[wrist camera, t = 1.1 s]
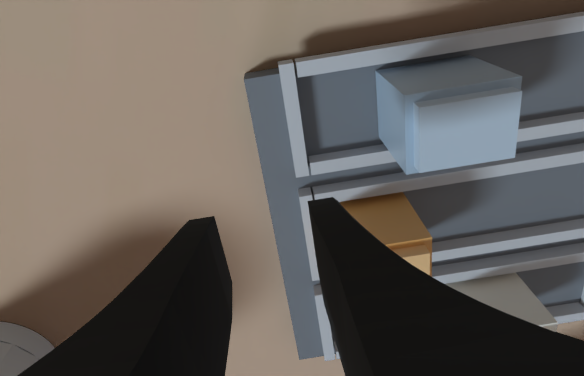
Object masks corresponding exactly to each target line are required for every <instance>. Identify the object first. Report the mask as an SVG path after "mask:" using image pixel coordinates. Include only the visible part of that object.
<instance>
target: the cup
mask: <svg viewBox="0 0 584 376" xmlns="http://www.w3.org/2000/svg"><path fill="white" fill-rule="evenodd" d="M53 349H55V348H54V346H53V345H52V344H51V343H50V342H49V341H48V340H47V339H45V338H44V337H43V336H41V335H40V334H38V333H36V332H34V331H32V330H30V329H28V328H26V327H23V326H20V325H16V324H12V323H7V322H0V376H17V375H19V374H20V373H22V372H23V371H24V370H26V369H27V368H28V367H30V366H31V365H33V364H34V363H35V362H37V361H38V360H39V359H41V358H42V357H44V356H45V355H46V354H48V353H49V352H50V351H52V350H53Z"/></svg>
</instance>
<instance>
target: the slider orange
mask: <svg viewBox="0 0 584 376" xmlns="http://www.w3.org/2000/svg"><path fill="white" fill-rule="evenodd" d="M339 203H340V204H341V205H342V206H343V207H344V208H345V209H346V210H347V211H348V212H349V213H350V214H351V215H352V216H353V217H354V218H355V219H356V220H357V221H358V222H359V223H360V224H361V225H362V226H363V227H364V228H365V229H367V230H368V231H369V232H370V233H371V234H372V235H374V236H375V237H376V238H377V239H378V240H379V241H381V242H382V243H383V244H384V245H386V246H387V247H388V248H389V249H391V250H392V251H393V252H395V253H396V254H398V255H399V256H400V257H402V258H403V259H404V260H406V261H407V262H409V263H410V264H412V265H413V266H415V267H416V268H418V269H420V270H421V271H423V272H425V273H426V274H428V275H430V276H431V277H432V236H431V235H430V233H429V232H428V230H427V229H426V227H425V225H424V224H423V222H422V221H421V219H420V218H419V216H418V215H417V213H416V212H415V210H414V209H413V207H412V205H411V204H410V202H409V201H408V199H407V198H406V196H405V195H404V193H403V192H398V193H392V194H386V195H380V196H373V197H367V198H361V199H355V200H349V201H342V202H339Z"/></svg>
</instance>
